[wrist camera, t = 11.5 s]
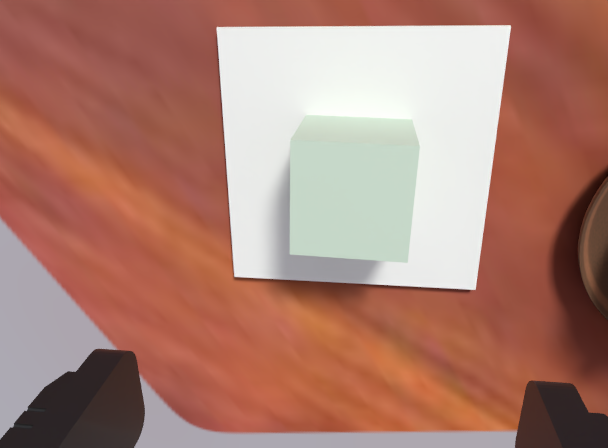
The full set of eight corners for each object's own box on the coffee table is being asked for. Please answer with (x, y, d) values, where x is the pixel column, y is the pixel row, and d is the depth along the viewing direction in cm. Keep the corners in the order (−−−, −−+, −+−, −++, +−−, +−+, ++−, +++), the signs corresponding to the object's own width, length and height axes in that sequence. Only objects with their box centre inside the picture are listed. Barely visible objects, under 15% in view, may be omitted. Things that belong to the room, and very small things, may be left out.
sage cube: (304, 211, 27) (289, 254, 22) (306, 114, 25) (290, 140, 20) (402, 217, 26) (407, 262, 22) (412, 119, 24) (419, 146, 20)
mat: (236, 272, 30) (234, 276, 29) (219, 26, 24) (216, 27, 24) (474, 285, 28) (475, 289, 28) (508, 25, 23) (510, 25, 22)
